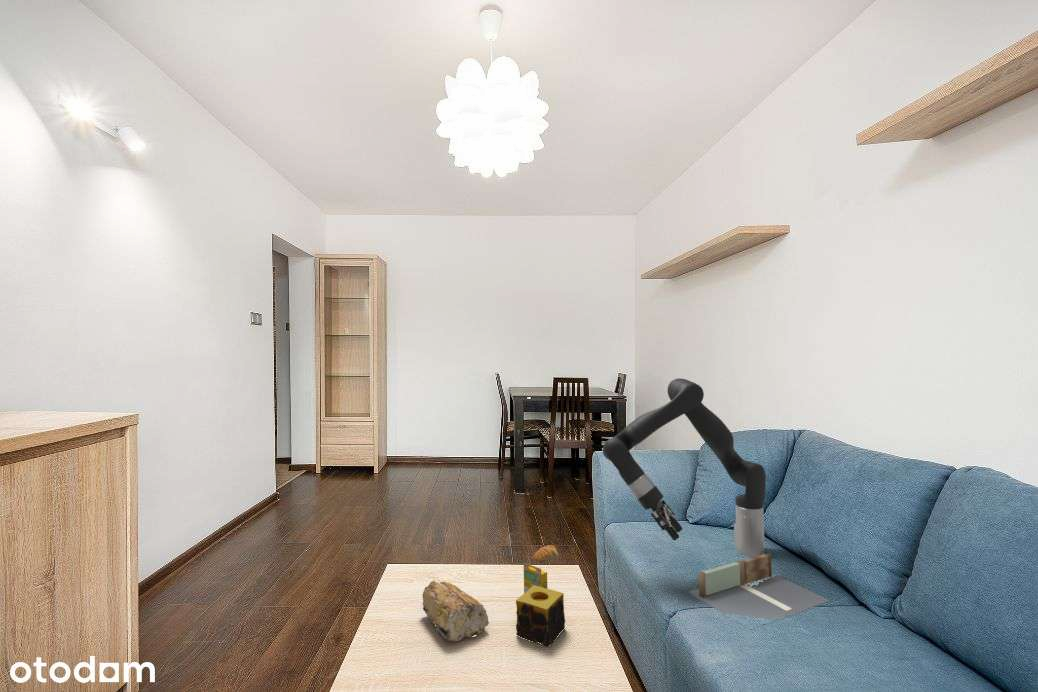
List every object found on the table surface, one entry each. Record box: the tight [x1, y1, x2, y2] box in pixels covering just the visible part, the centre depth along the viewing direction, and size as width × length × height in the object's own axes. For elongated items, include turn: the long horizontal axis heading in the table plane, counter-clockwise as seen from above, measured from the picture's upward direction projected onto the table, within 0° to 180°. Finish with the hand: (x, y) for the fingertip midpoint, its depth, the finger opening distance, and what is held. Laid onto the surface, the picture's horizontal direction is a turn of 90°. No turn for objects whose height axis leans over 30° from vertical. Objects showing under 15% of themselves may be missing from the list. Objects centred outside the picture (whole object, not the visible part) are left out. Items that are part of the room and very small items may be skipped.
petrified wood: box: [422, 580, 490, 642], centre depth 141 cm, size 19×13×10 cm
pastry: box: [532, 544, 559, 563], centre depth 183 cm, size 9×7×4 cm
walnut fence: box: [741, 552, 773, 584], centre depth 162 cm, size 12×2×7 cm, turn 115°
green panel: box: [697, 560, 745, 597], centre depth 155 cm, size 18×2×7 cm, turn 115°
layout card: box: [688, 574, 831, 621], centre depth 151 cm, size 23×33×1 cm
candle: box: [515, 585, 566, 648], centre depth 136 cm, size 10×10×10 cm
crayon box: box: [523, 562, 549, 594], centre depth 152 cm, size 7×3×12 cm, turn 47°
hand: (678, 534), depth 158 cm, fingers open, 8 cm apart
